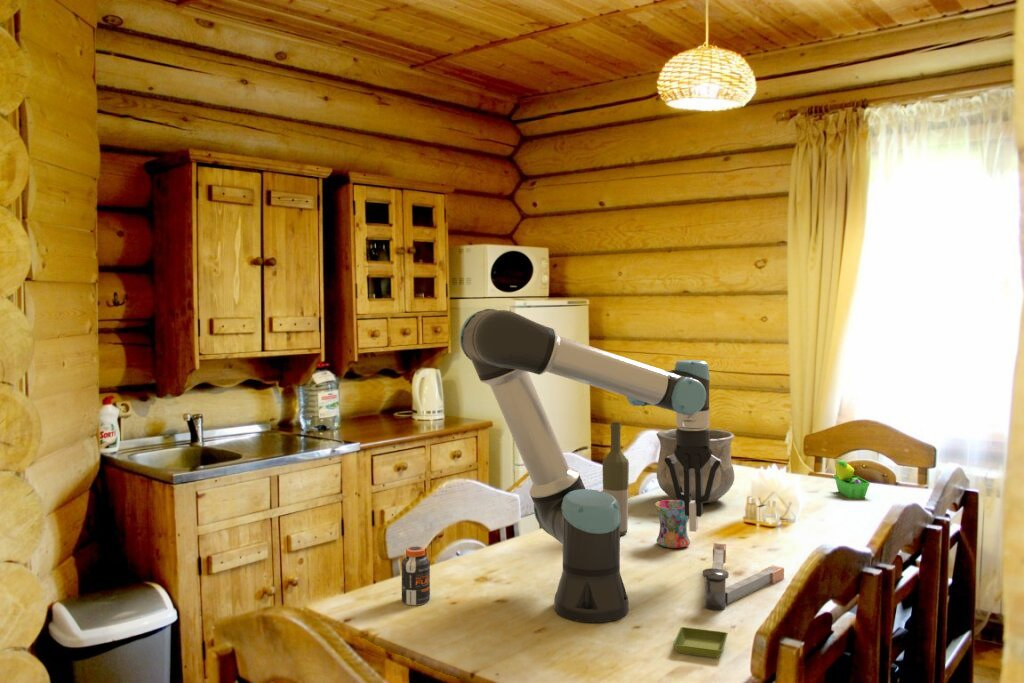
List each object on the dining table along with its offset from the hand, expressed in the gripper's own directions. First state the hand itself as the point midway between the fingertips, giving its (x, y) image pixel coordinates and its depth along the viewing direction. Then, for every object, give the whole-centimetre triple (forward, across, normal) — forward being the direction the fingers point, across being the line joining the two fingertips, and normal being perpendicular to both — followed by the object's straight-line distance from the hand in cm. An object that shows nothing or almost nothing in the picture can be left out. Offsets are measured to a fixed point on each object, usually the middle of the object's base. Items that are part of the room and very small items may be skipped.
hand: (693, 529), depth 193 cm
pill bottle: (+9, -51, -39) cm, 65 cm away
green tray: (+10, +9, -41) cm, 43 cm away
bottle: (+10, -26, +25) cm, 37 cm away
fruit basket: (+12, +32, +94) cm, 100 cm away
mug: (+11, -9, +21) cm, 25 cm away
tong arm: (+7, +6, -5) cm, 11 cm away
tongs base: (+10, +13, -9) cm, 18 cm away
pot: (+11, -12, +68) cm, 70 cm away
